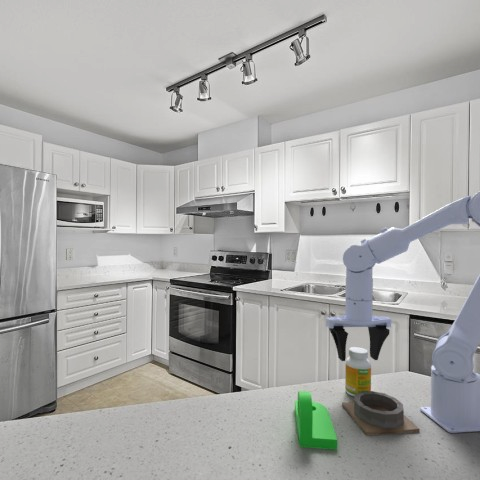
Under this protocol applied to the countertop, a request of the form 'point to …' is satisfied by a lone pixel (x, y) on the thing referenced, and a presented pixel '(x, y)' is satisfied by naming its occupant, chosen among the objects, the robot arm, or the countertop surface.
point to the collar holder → (379, 414)
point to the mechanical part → (314, 423)
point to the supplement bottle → (357, 371)
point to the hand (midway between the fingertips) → (357, 358)
